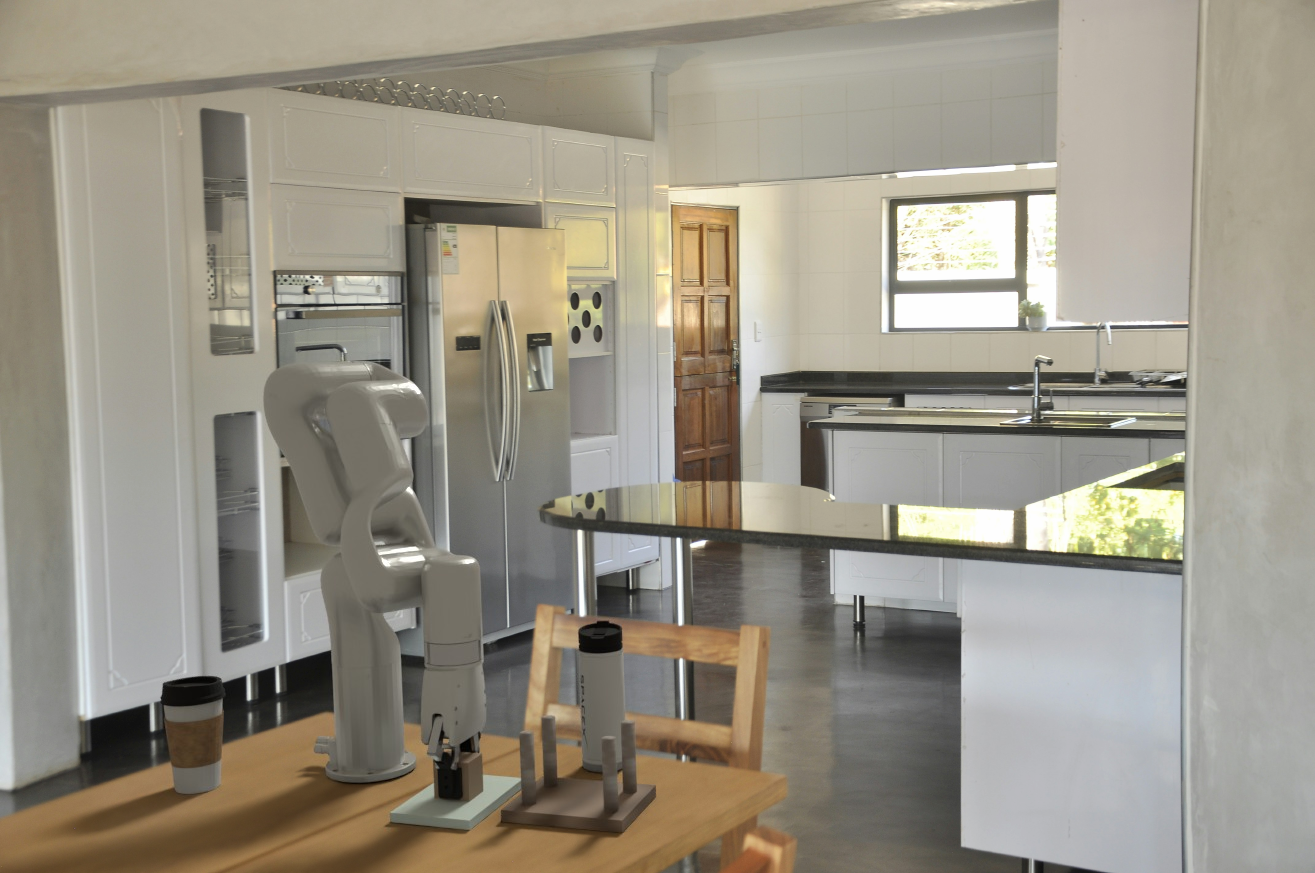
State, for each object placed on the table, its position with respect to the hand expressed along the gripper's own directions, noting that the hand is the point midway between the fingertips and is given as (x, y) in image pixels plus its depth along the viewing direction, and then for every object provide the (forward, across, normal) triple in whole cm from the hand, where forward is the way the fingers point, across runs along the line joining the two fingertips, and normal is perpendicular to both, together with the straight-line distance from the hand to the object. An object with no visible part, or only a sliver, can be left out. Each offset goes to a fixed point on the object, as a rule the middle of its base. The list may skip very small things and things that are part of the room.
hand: (459, 790), depth 161 cm
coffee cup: (+2, +2, -39) cm, 39 cm away
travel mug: (+2, -19, +13) cm, 23 cm away
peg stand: (+2, -2, +16) cm, 16 cm away
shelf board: (+2, 0, 0) cm, 2 cm away
